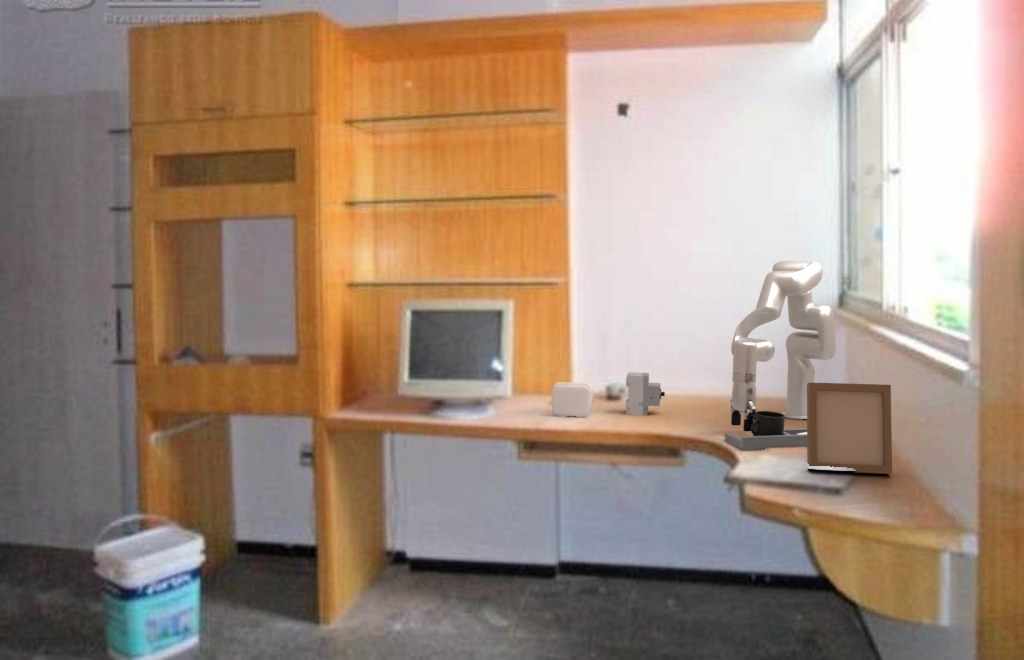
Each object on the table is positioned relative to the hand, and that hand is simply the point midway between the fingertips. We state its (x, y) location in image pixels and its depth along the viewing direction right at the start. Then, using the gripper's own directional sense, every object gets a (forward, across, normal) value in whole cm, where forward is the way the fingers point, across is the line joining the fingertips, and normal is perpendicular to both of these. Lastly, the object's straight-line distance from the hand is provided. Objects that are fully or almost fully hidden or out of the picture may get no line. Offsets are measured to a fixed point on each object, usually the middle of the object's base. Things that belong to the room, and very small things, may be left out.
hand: (741, 428), depth 286 cm
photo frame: (+3, -44, -12) cm, 46 cm away
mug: (+2, -10, -3) cm, 11 cm away
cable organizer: (+3, +43, +49) cm, 65 cm away
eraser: (+2, -11, -17) cm, 20 cm away
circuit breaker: (+3, +40, +21) cm, 45 cm away
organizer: (+2, -13, -7) cm, 15 cm away
